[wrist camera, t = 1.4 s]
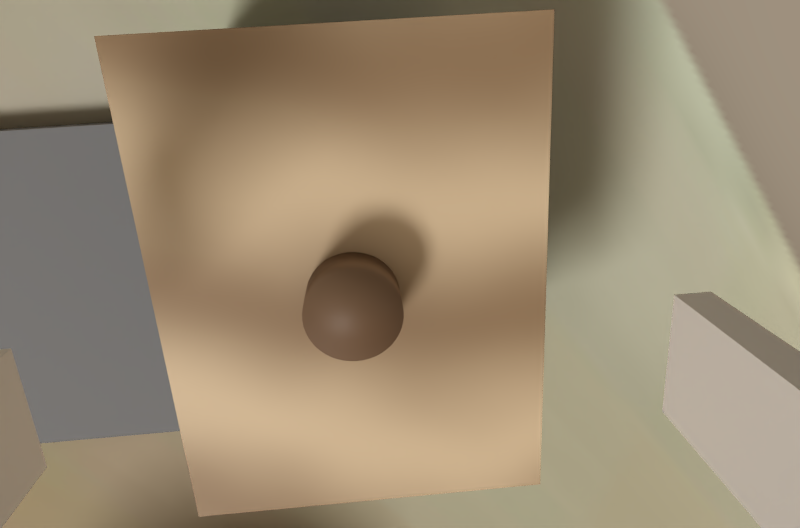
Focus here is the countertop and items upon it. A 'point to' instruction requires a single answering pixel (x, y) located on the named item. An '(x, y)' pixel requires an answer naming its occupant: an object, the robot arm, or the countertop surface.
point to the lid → (344, 250)
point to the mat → (77, 287)
